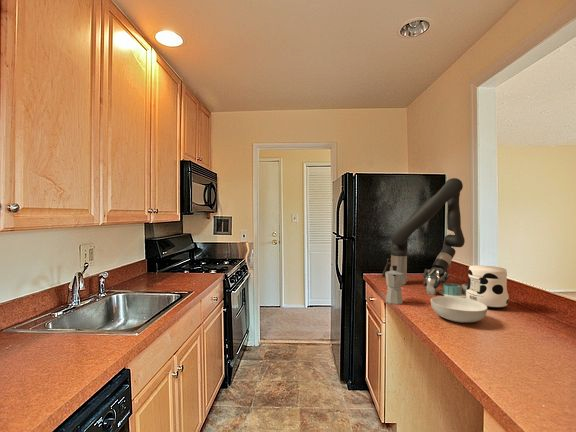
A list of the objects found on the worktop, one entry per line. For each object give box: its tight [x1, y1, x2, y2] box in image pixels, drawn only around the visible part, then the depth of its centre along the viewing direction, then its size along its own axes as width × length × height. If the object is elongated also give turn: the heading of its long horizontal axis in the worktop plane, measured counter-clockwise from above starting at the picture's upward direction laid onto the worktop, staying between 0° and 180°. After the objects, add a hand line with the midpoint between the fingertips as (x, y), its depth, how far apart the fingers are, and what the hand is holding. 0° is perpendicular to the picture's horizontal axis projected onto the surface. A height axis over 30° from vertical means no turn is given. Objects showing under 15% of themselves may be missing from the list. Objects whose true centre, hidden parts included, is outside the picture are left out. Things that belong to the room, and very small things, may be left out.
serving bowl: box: [430, 295, 488, 324], centre depth 132 cm, size 21×21×7 cm
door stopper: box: [381, 258, 391, 278], centre depth 216 cm, size 9×6×12 cm, turn 72°
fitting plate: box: [438, 282, 468, 299], centre depth 168 cm, size 17×11×6 cm, turn 89°
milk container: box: [466, 264, 510, 309], centre depth 152 cm, size 17×17×18 cm
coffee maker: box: [385, 265, 404, 306], centre depth 157 cm, size 15×9×18 cm, turn 161°
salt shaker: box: [425, 274, 438, 296], centre depth 172 cm, size 5×5×10 cm
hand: (429, 286), depth 171 cm, fingers closed on salt shaker, 5 cm apart
